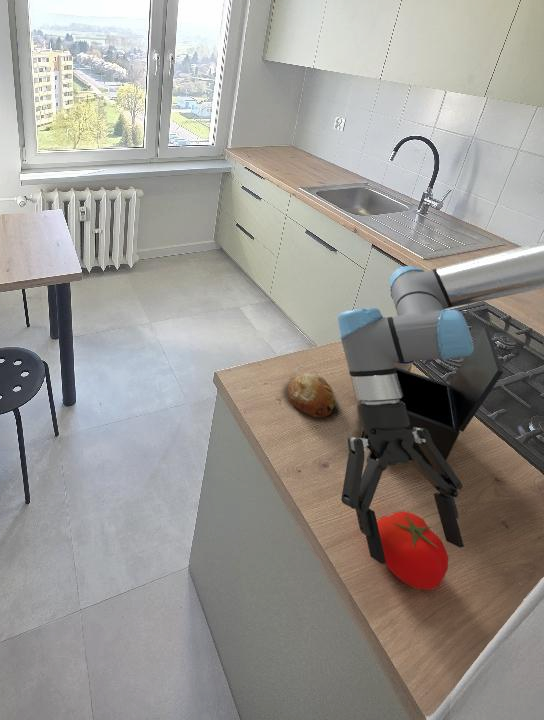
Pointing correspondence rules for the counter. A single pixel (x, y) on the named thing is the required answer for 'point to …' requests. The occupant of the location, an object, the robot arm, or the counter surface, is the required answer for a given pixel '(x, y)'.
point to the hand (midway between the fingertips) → (417, 552)
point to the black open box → (429, 410)
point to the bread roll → (312, 395)
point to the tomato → (413, 550)
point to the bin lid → (475, 379)
